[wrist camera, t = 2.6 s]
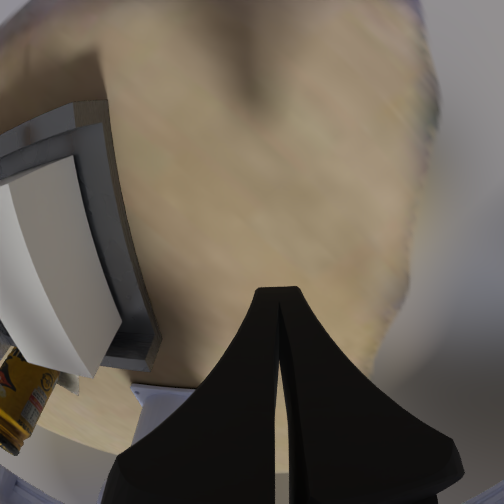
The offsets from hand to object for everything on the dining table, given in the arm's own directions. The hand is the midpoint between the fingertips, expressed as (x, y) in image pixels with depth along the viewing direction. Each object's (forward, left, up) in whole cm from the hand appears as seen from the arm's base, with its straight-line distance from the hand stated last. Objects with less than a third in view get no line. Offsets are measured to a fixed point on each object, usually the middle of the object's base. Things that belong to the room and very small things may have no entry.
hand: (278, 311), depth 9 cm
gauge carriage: (+1, +13, -5) cm, 14 cm away
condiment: (-14, +24, -7) cm, 28 cm away
